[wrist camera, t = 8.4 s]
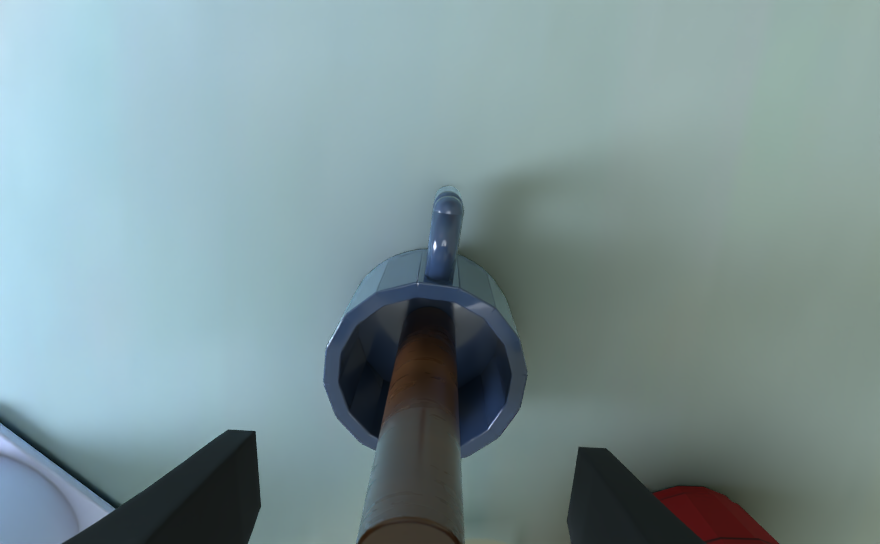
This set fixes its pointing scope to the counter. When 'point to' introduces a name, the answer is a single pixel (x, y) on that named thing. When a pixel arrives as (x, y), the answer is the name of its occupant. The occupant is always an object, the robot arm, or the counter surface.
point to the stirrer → (418, 442)
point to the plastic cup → (713, 516)
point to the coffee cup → (476, 330)
